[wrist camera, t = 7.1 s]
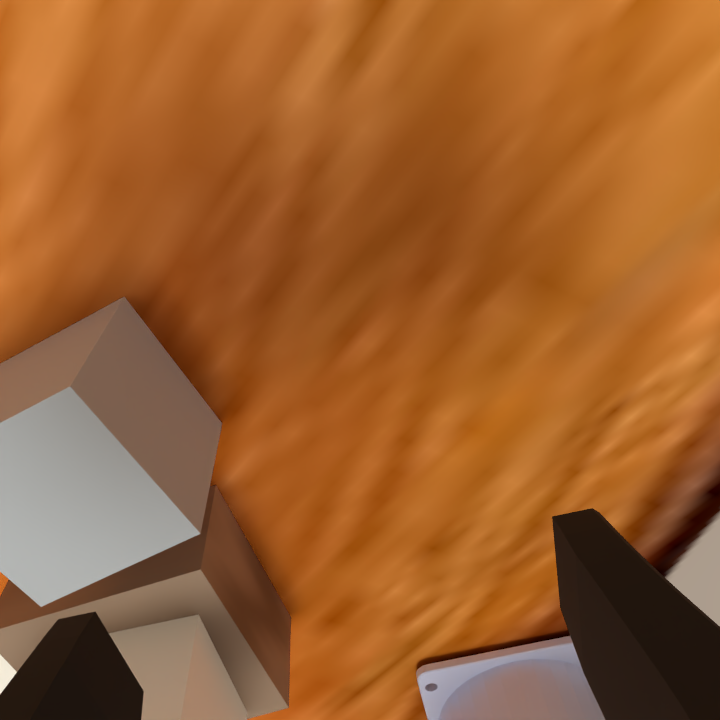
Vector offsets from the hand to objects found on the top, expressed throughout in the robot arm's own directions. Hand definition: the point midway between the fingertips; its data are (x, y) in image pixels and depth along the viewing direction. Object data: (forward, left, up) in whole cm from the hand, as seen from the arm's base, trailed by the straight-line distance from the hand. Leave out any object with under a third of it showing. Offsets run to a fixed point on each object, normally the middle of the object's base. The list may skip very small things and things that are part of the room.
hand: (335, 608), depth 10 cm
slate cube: (-1, +7, -10) cm, 13 cm away
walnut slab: (-9, +8, -11) cm, 16 cm away
